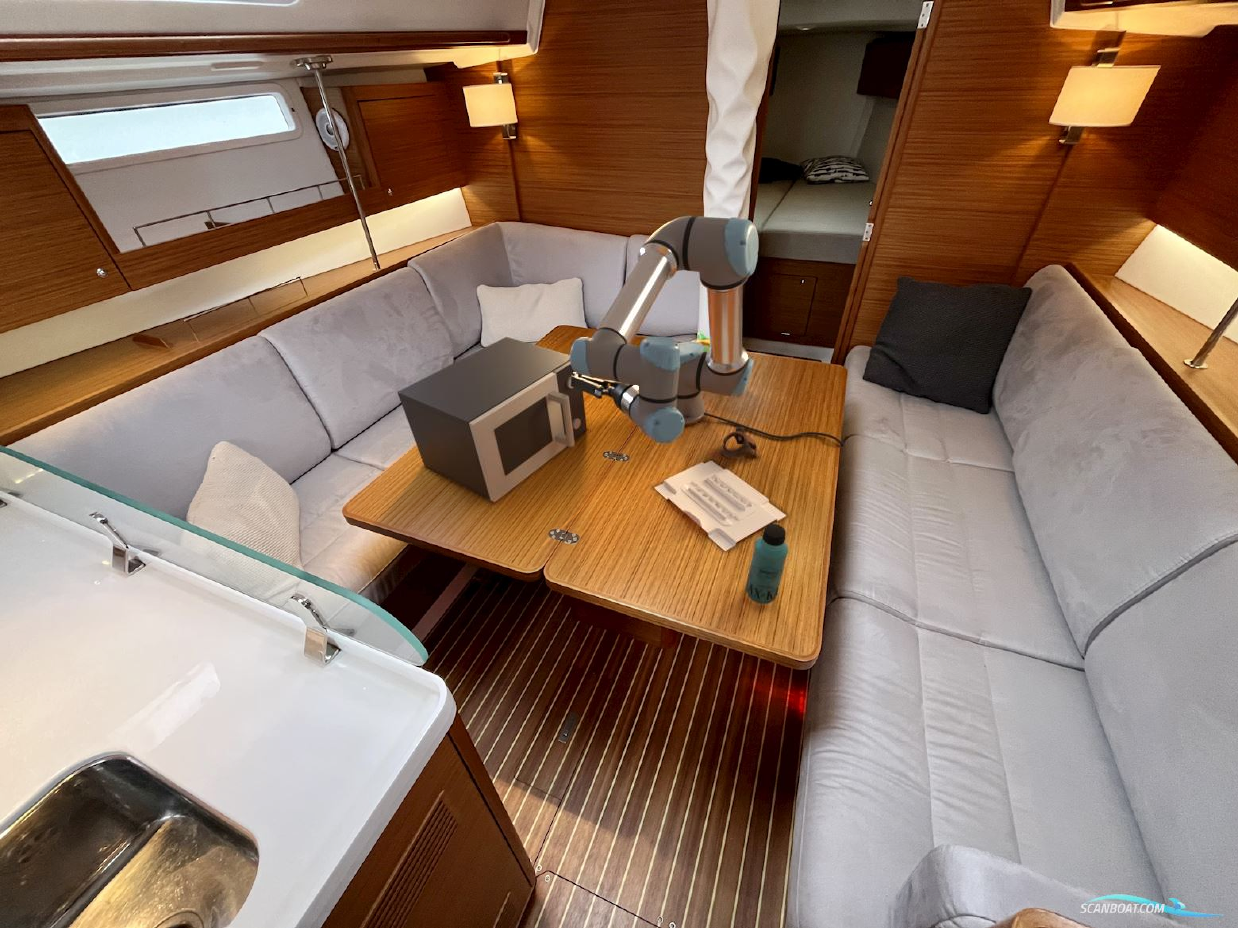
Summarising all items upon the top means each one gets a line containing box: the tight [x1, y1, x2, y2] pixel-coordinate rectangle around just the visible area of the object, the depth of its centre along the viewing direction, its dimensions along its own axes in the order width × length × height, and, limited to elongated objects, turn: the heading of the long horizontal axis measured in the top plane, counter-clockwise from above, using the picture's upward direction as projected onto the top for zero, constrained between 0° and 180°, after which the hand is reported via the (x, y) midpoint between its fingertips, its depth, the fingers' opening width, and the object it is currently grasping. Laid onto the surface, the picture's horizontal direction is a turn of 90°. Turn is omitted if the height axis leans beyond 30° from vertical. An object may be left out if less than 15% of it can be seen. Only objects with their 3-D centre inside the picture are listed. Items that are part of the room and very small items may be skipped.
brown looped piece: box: [721, 426, 758, 459], centre depth 142 cm, size 12×10×8 cm
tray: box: [654, 460, 787, 552], centre depth 127 cm, size 20×28×4 cm
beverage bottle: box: [745, 523, 789, 605], centre depth 98 cm, size 6×7×20 cm
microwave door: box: [469, 372, 575, 503], centre depth 132 cm, size 8×30×25 cm, turn 145°
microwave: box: [396, 336, 588, 501], centre depth 144 cm, size 30×40×25 cm
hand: (599, 370), depth 124 cm, fingers open, 13 cm apart
